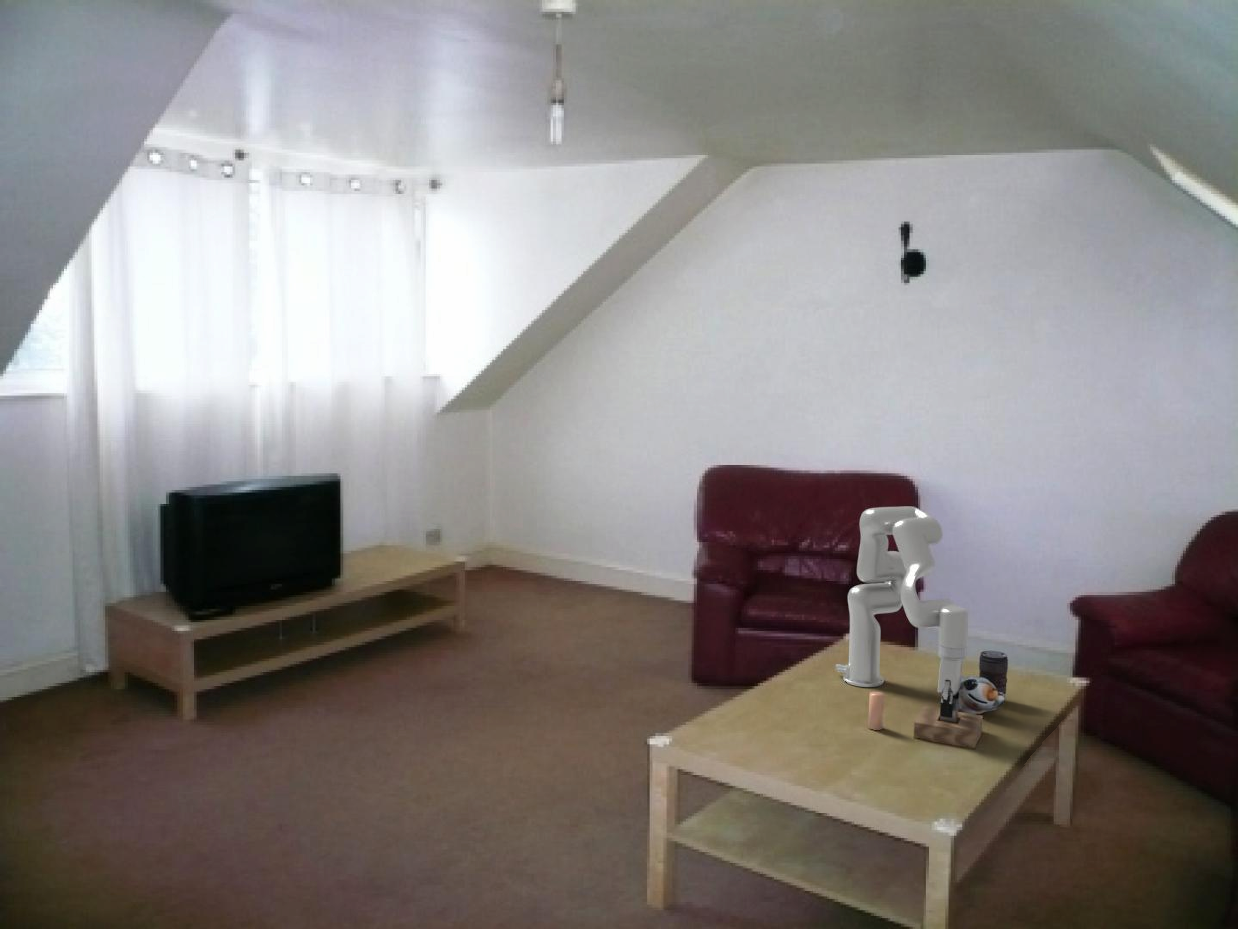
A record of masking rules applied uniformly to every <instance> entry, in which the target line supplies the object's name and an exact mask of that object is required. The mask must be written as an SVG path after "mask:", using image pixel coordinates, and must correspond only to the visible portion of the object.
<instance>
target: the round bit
mask: <svg viewBox="0 0 1238 929" xmlns="http://www.w3.org/2000/svg"><path fill="white" fill-rule="evenodd" d="M884 707H885V693H884V692H881V691H870V692H869V702H868V723H867V727H868V726H869V728H871V729H874V730H881V729H884V711H885V710H884V709H885V708H884ZM869 728H868V729H869ZM874 730H873V731H874ZM881 731H882V730H881Z"/></svg>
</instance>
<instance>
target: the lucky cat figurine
mask: <svg viewBox="0 0 1238 929" xmlns="http://www.w3.org/2000/svg"><path fill="white" fill-rule="evenodd" d="M1005 699H1006V695H1005V694H1003V692H998V690H997V689H996V688H995V686H994V685H993V684H992V683H991V682H989V680H987V679H985V678H981V677H979V676H978V675H974V676H973V675H969V676H967V677H966V678H965V677H964V676H963V675H961V685H960V688H959V705H958V712H963V713H969V714H975V715H981V714H983V713H985V712H992V711H996V710H997V707H999V706H1001V705H1002V704H1001V703H1002V702H1003V703H1004V701H1005ZM1000 704H1001V705H1000Z"/></svg>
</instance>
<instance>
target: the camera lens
mask: <svg viewBox="0 0 1238 929" xmlns="http://www.w3.org/2000/svg"><path fill="white" fill-rule="evenodd" d="M978 663H979V665H978V666H979V668H978V670H979V676H978V677H981V678H985V679H987V680H989V682H991V683H992V684H993V685H994V686H995V688H996V689H997V690H998V692H1003V694H1005V696H1006V694H1007V684H1008V678H1007V675H1008V674H1007V673H1008V668H1009V659H1008V654H1007V653H1006V652H1002V651H1000V650H999V651H998V650H983V651H981V652H980V655H979V662H978ZM1003 704H1004V701H1003V702H1002V703H1001V704H1000V705H999V706H1001V705H1003Z"/></svg>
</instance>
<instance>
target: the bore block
mask: <svg viewBox="0 0 1238 929" xmlns="http://www.w3.org/2000/svg"><path fill="white" fill-rule="evenodd" d="M983 718H984V715H981V714H969V713H963V712H958V724H954V723H948V722H942V721H940V707H931V706H926V705H925V706H923V707H922V709H921V711H920V712H919V714H918V715H917V717H916V719H915V721H914V722H913V723H914V725H913V727H914V728H913V738H914V737H917V738H921V739H920V740H923V739H926V740H925V741H928V740H930V741H929V742H935V743H939V742H943V743H942V744H945V743H947V744H946V745H950V744H952V745H951V746H956V745H957V746H956V747H961V746H962V747H963V748H968V749H972V748H976V746H977V743H978V742H979V739H980V738H981V735H982V732H983V720H984V719H983ZM917 738H916V739H917Z"/></svg>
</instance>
